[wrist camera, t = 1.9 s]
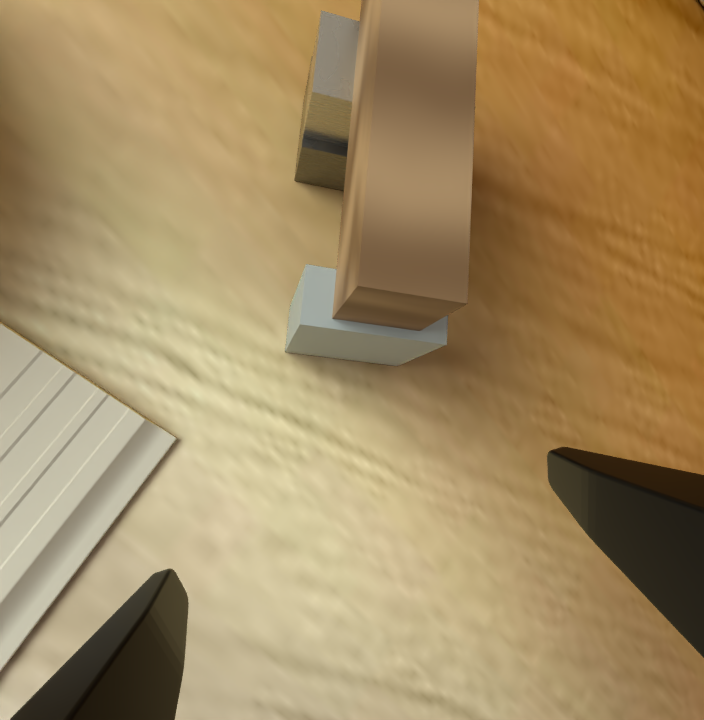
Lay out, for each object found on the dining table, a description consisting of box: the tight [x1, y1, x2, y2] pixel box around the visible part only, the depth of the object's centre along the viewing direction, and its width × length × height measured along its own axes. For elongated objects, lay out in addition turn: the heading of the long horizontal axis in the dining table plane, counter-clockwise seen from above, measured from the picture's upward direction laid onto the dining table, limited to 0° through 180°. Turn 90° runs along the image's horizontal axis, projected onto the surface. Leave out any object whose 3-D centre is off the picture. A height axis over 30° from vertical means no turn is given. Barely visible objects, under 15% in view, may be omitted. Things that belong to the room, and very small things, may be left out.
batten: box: [332, 0, 479, 331], centre depth 17 cm, size 15×4×4 cm, turn 175°
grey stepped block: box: [295, 10, 360, 191], centre depth 23 cm, size 5×7×6 cm
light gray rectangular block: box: [285, 264, 448, 366], centre depth 21 cm, size 2×6×6 cm, turn 85°
